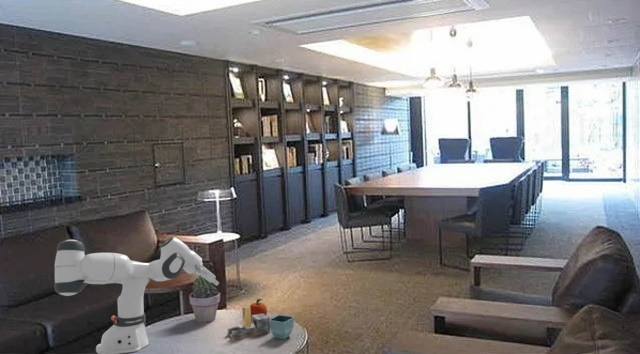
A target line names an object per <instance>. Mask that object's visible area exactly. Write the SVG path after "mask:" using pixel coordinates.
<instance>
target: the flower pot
mask: <svg viewBox="0 0 640 354" xmlns="http://www.w3.org/2000/svg"><path fill="white" fill-rule="evenodd" d="M294 320H295V317H294V316H291V315H282V314H277V315H276V316H274V317H272V318H270V320H269V324H270V333H271V334H272V336H273V337H274V338H275V339H279V340H285V339H287V338H288V337H290V336H291V334H292V332H293V329H294V322H295V321H294Z"/></svg>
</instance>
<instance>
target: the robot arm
mask: <svg viewBox="0 0 640 354" xmlns="http://www.w3.org/2000/svg"><path fill="white" fill-rule="evenodd" d="M85 247H86V246H85V244H84V243H83V242H82V241H79V240H76V239H66V240H63V241H61V242H59V243H58V244H57V247H56V254H55V260H54V284H53V286H54V291H55V292H56V293H57V294H59V295H61V296H65V297H66V296H67V297H70V296H74V295H76V294H80V293H81V292H82V291H83V290H84V288H85V287H86V286H88V285H106V284H120V285H122V290H121V294H120V295H119V296H118V297H117V301H116V302H117V315H116V316H115V315H112V316H111V317H110V319H111V321H112V322H113V325H112V326H110V327H109V328H108V330H106V331H105V332H104V333H103V334H102V336H101V340H100V343H99V344H97V345H96V347H95V352H96V354H127V353H134V352H135V353H136V352H138V351H140V350H141V349H143V348H144V347H147V346H148V345H149V344H150V342H149V339H148V336H147V330H146V313H145V312H144V310H145V309H144V294H145V291H146V286H147V285H148V284H149V283H150V281H151V282H153V283H162V282H164V281H170V280H174V279H176V278H178V277H179V276H180V274H182V270H184V271H185V272H186V273H187V274H189V275H190V274H194V275H195V274H196V275H197V276H198V277H199V276H201V277H202V278H204V279H205V280H207V281H208V282H210V283H211V282H212V283H214V284H215V285H216V286H215V287H217V285H218V286H219V284H220V282H219V281H218V280H217V279H216V275H215V274H214V273H212V272H211V271H210V270H209V269H208V268H206V267H205V266H204V265H203V264H204V263H203V258H202V257H201V256H200V255H199V254H197V253H196V252H195V251H194V250H192V249H190V247H189V246H188V245H187V244H186V243H184V242H183V241H182V240H180V239H178V237H174V236H173V237H169V238H167V239H166V240H165V241H164V242H162V244H161V245H160V256H159V257H160V258H159V259H155V260H152V261H149V262H140V261H137V260H131V259H130V258H129V256H128V255H126V254H122V253H119V252H118V253H117V252H94V253H93V252H92V253H89V254H85V252H86V248H85Z"/></svg>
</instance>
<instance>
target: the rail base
mask: <svg viewBox="0 0 640 354" xmlns="http://www.w3.org/2000/svg"><path fill="white" fill-rule="evenodd" d="M270 319H271V318H270V317H269V316H268V315H267V314H266V315H265V314H263V313H262V314H256V315H252V318H251V324H252V323H257V328H253V329H248V330H243V326H239V325H238V326H237V325H236V326H232V327H228V328H227V336H228V337H230V338H231V339H232V341H236V340H239V339H245V338H249V337H250V338H251V337H253V336H259V335H264V334H269V333H271V329H270V324H269V320H270Z"/></svg>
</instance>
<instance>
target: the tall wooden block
mask: <svg viewBox="0 0 640 354" xmlns="http://www.w3.org/2000/svg"><path fill="white" fill-rule="evenodd" d="M241 310H242V327H243V330H248V329H253V328H257V323H252V318H251V307H250V305H245V306H242V309H241Z"/></svg>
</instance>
